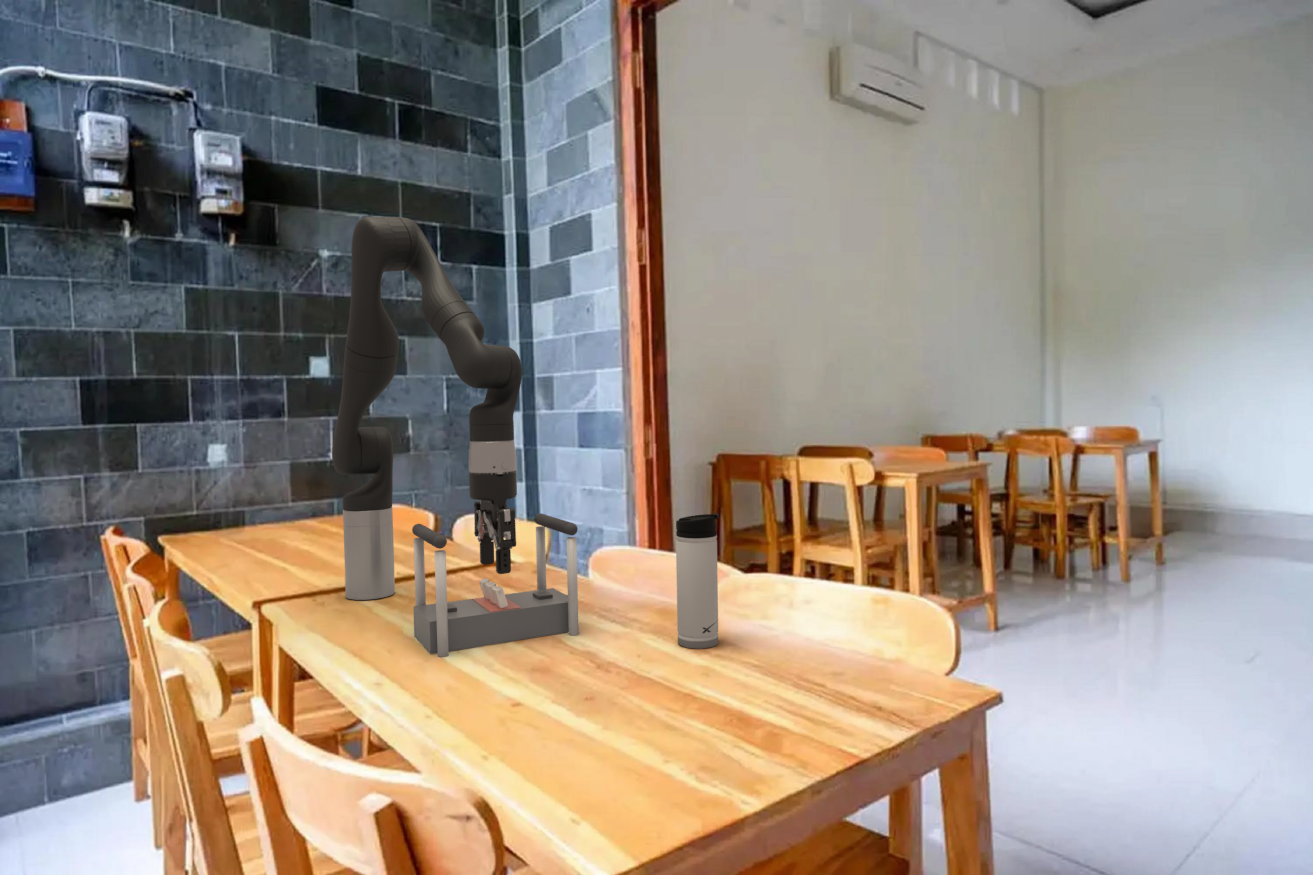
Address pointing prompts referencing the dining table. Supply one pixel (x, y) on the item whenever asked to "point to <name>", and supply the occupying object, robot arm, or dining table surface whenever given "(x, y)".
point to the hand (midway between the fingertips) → (495, 568)
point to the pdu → (493, 607)
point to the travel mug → (697, 581)
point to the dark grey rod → (556, 524)
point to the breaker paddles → (493, 593)
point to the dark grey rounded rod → (429, 536)
